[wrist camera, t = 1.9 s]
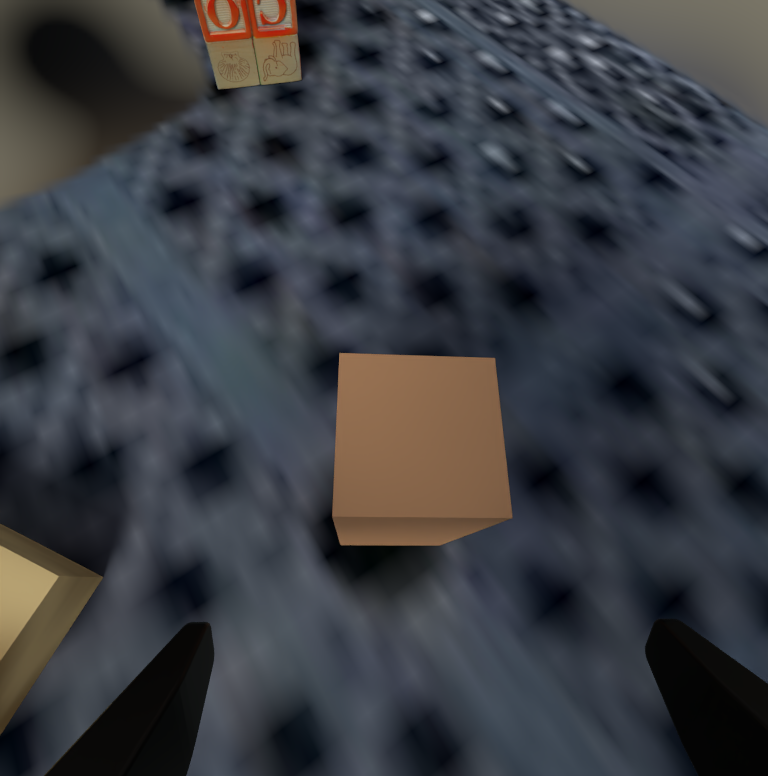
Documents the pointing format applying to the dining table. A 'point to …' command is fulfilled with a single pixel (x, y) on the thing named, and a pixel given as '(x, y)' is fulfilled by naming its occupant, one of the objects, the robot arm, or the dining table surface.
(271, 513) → the dining table surface
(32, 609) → the base brick
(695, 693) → the robot arm
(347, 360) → the pillar brick
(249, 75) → the stack of blocks
